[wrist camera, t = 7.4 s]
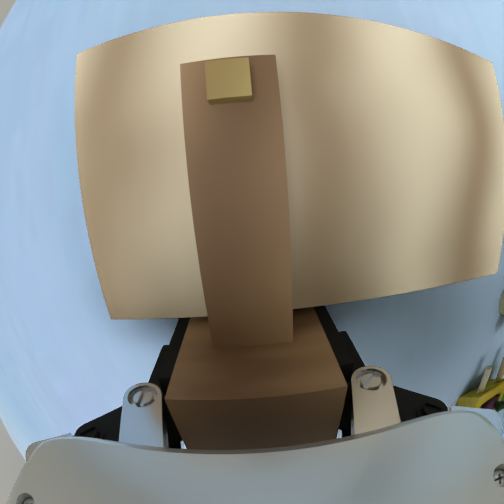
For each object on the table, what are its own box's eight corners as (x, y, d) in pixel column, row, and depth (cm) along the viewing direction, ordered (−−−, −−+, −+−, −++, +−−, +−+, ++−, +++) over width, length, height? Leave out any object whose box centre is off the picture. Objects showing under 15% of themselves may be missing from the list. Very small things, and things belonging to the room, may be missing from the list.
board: (462, 70, 8) (492, 62, 6) (468, 257, 12) (497, 273, 9) (105, 69, 9) (77, 53, 6) (132, 292, 12) (111, 319, 9)
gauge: (292, 90, 9) (342, 18, 4) (303, 359, 13) (330, 460, 7) (175, 101, 9) (104, 43, 4) (212, 366, 13) (198, 470, 7)
